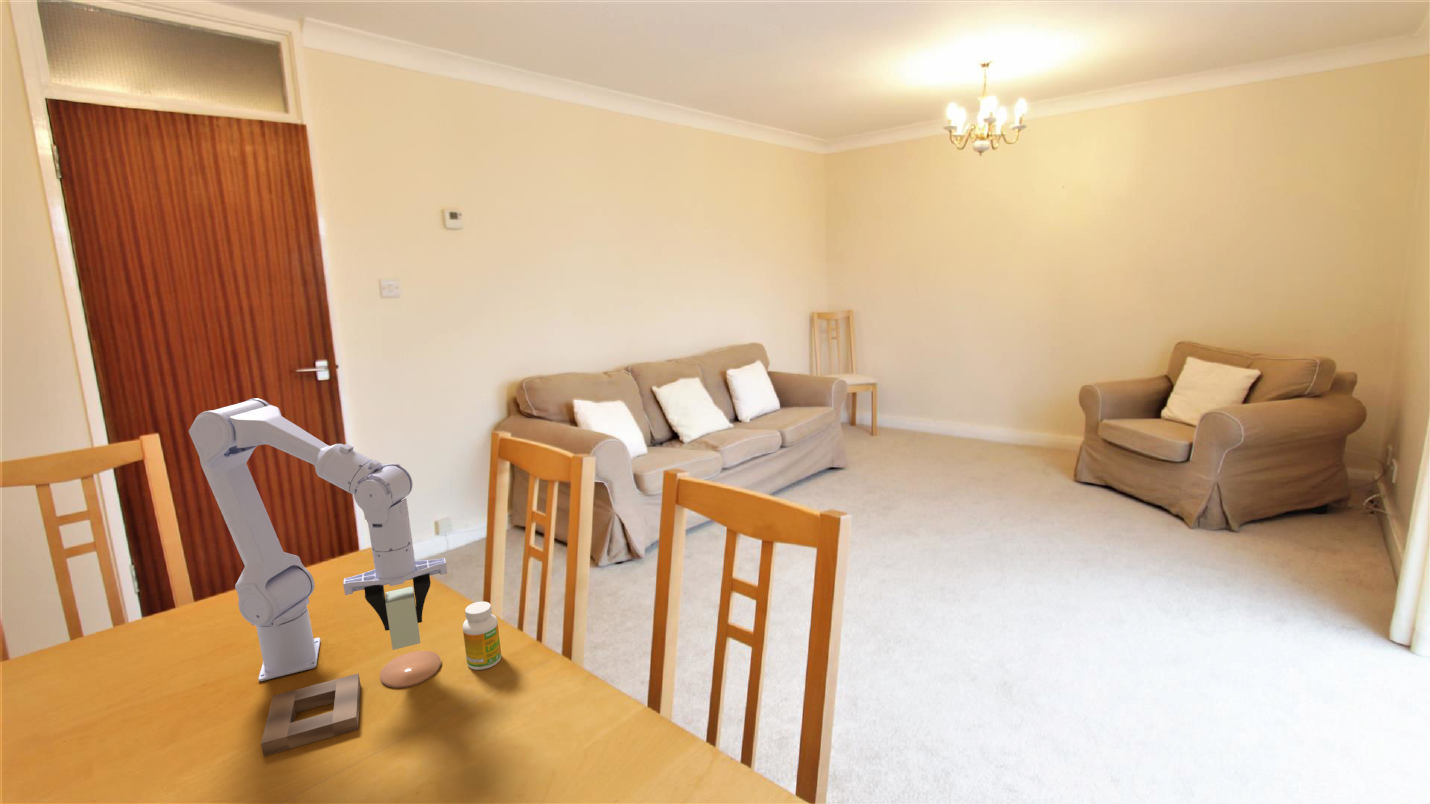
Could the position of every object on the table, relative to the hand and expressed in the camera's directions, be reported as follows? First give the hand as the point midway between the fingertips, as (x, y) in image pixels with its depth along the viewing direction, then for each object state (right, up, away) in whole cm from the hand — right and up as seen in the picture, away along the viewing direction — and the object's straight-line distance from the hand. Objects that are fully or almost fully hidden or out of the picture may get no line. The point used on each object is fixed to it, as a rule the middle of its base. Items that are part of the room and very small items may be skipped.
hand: (403, 623), depth 107 cm
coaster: (0, -8, +2) cm, 8 cm away
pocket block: (-9, -11, -9) cm, 17 cm away
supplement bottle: (+12, -8, +4) cm, 14 cm away
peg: (0, -3, +1) cm, 3 cm away
